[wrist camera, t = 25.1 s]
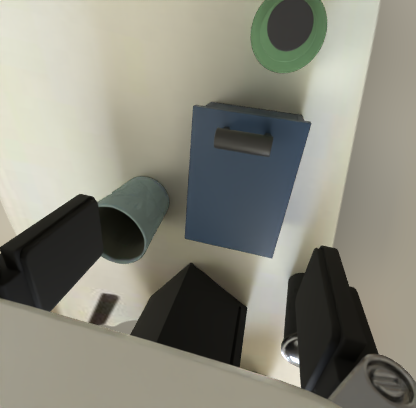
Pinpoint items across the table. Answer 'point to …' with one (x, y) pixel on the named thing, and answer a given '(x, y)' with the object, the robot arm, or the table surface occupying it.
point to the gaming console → (195, 318)
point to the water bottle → (288, 33)
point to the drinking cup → (291, 322)
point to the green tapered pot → (131, 218)
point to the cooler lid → (241, 177)
